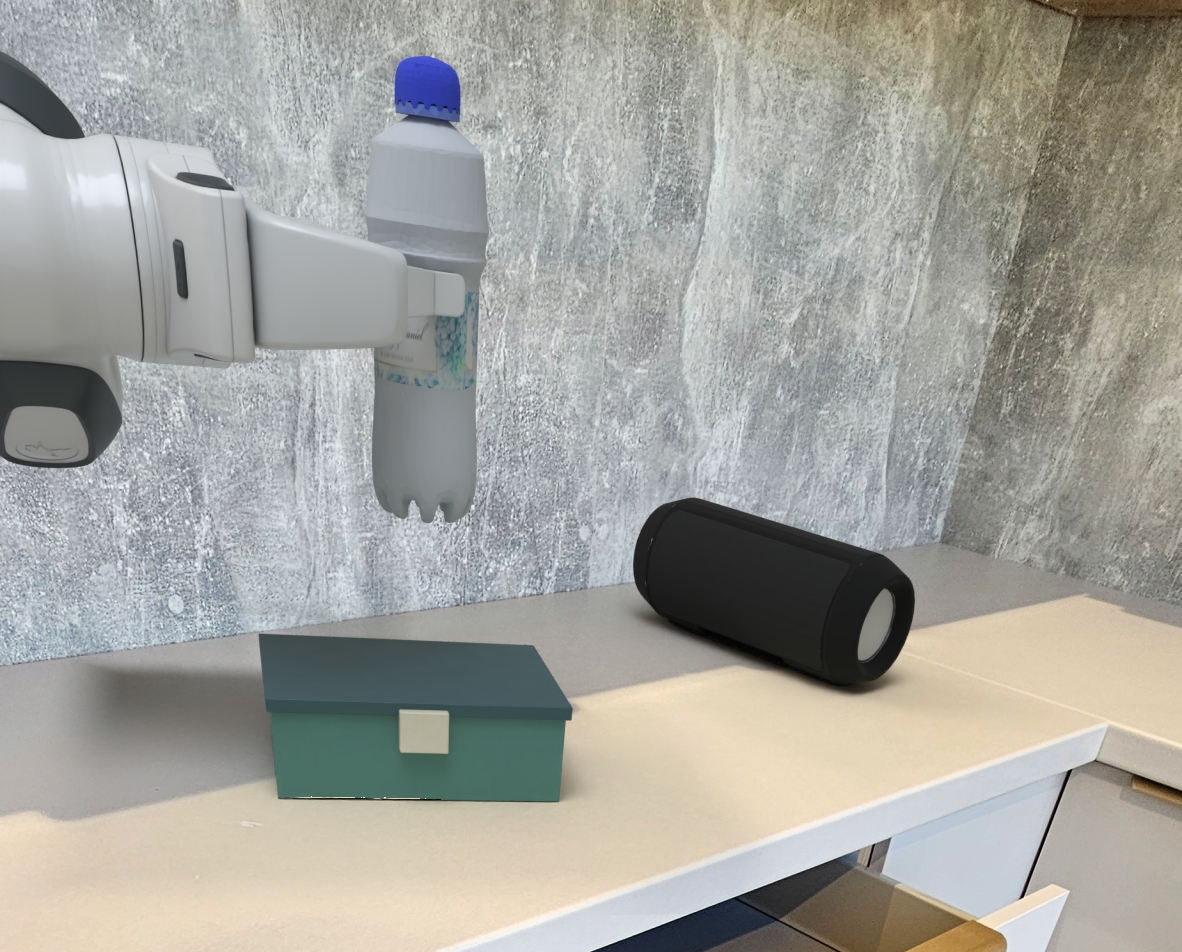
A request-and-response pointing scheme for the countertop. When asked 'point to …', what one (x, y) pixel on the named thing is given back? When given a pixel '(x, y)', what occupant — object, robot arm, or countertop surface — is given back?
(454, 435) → the bottle
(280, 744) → the lunchbox
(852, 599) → the portable speaker
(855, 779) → the countertop surface
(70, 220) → the robot arm
